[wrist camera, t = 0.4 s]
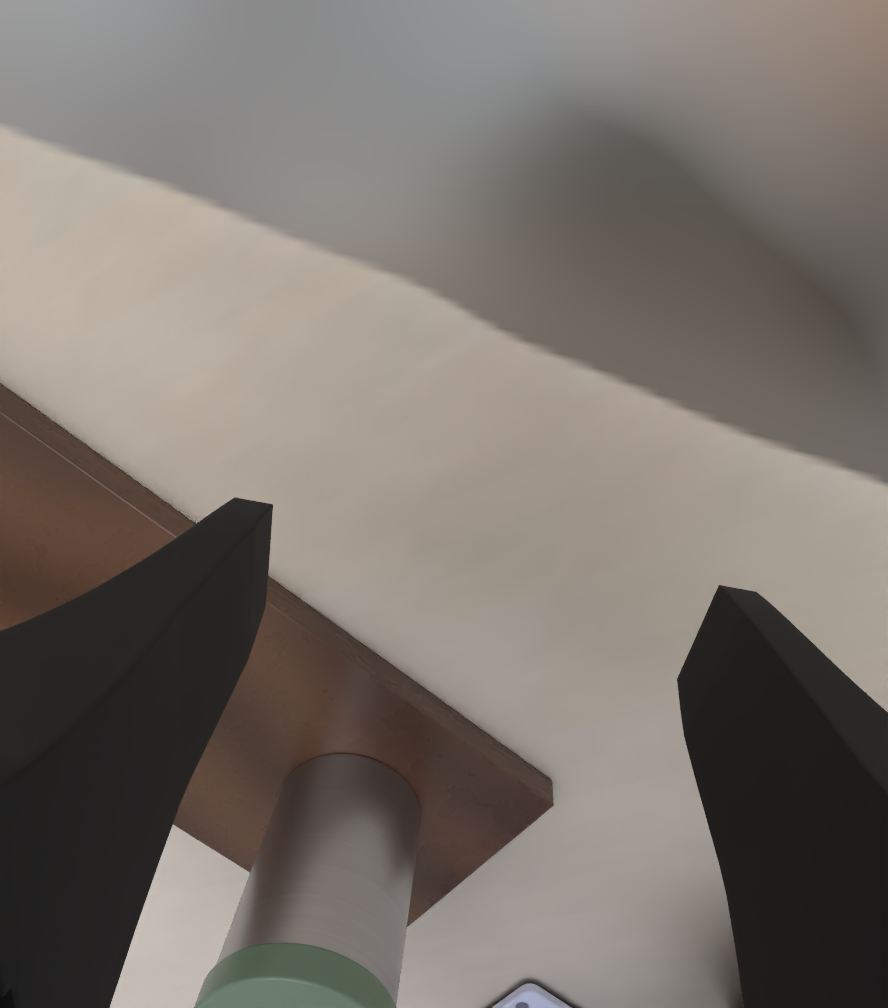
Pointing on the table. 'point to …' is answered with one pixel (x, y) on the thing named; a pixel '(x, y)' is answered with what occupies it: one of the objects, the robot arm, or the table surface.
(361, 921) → the tin
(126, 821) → the robot arm
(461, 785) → the board
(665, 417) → the table surface
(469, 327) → the table surface
